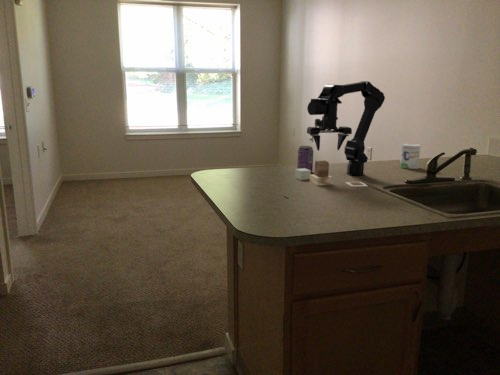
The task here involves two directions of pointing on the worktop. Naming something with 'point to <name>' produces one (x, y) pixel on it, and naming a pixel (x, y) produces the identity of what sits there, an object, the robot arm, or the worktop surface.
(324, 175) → the walnut block
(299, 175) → the sage block
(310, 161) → the beverage can
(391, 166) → the worktop surface
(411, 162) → the ink box
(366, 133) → the robot arm
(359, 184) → the swatch
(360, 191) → the worktop surface
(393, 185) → the worktop surface
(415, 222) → the worktop surface
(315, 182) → the beech base
